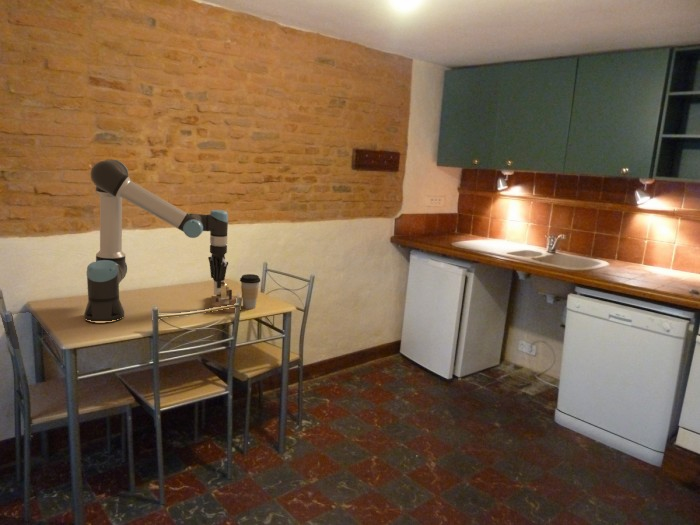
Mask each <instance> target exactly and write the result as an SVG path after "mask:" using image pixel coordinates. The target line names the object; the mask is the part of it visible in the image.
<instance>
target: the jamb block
mask: <svg viewBox="0 0 700 525" xmlns="http://www.w3.org/2000/svg"><path fill="white" fill-rule="evenodd" d="M229 290H230V287H229V286H227V288H226V293H227V295H226V296H229ZM215 296H221V294H219V295H215Z"/></svg>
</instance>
